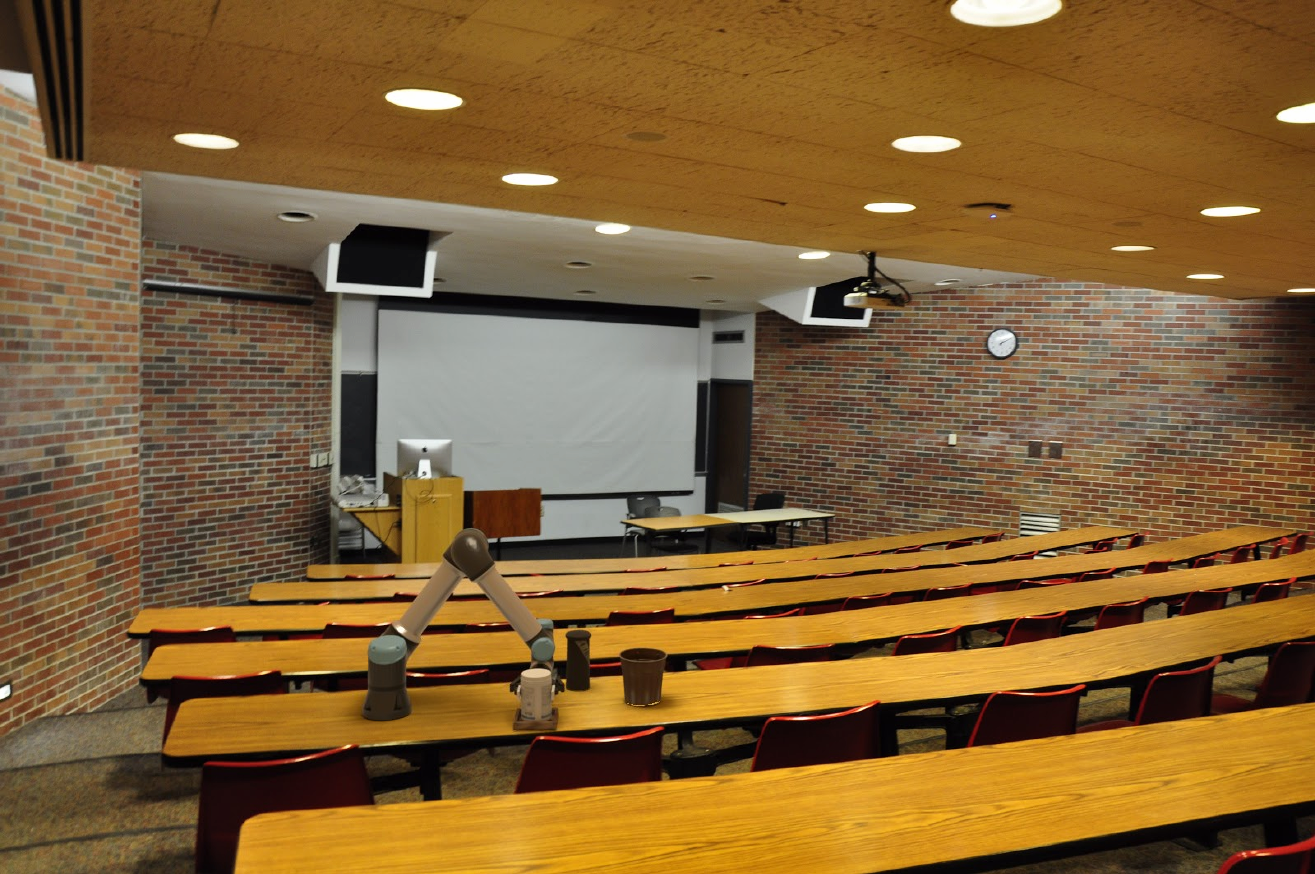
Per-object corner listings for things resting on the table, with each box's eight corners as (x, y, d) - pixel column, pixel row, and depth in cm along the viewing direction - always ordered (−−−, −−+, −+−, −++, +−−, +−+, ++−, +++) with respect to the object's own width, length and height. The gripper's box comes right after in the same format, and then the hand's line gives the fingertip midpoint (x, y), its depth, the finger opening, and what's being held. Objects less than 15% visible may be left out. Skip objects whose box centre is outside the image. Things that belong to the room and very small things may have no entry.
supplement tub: (547, 712, 294) (548, 667, 294) (554, 722, 285) (555, 675, 285) (517, 716, 291) (518, 669, 290) (523, 726, 282) (524, 678, 282)
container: (586, 692, 319) (587, 635, 318) (561, 690, 321) (562, 633, 320) (593, 685, 327) (594, 629, 326) (569, 683, 329) (569, 627, 328)
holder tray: (513, 730, 281) (513, 722, 281) (517, 716, 294) (517, 708, 294) (556, 730, 282) (556, 722, 282) (558, 715, 295) (558, 708, 295)
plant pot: (657, 712, 300) (658, 663, 299) (611, 706, 305) (611, 658, 304) (672, 697, 315) (673, 650, 315) (628, 691, 320) (628, 645, 320)
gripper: (574, 685, 307) (571, 708, 284) (505, 685, 305) (498, 708, 283) (574, 662, 306) (572, 683, 284) (506, 662, 305) (498, 684, 283)
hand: (535, 696), depth 283 cm, fingers open, 10 cm apart
